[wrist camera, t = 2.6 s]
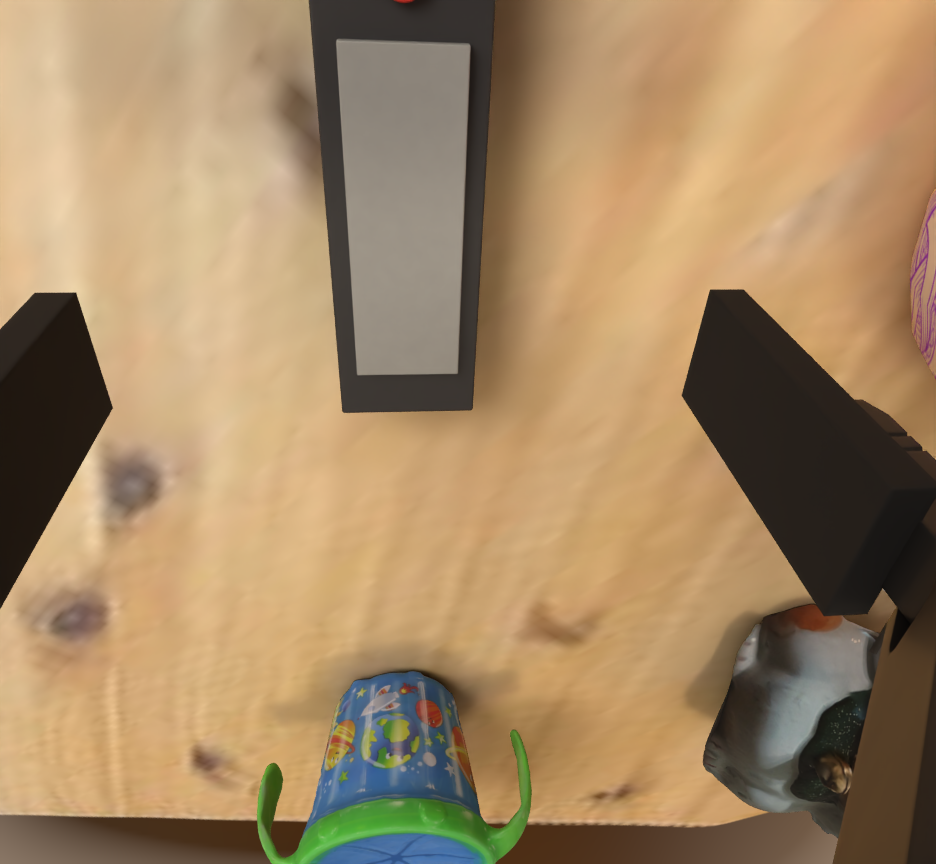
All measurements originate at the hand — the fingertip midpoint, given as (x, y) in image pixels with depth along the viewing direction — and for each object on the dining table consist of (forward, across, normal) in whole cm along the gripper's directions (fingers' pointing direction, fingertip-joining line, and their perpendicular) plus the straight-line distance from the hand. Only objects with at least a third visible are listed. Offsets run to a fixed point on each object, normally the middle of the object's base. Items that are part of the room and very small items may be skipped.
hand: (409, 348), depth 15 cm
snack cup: (+13, -1, -33) cm, 35 cm away
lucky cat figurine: (+13, +26, -31) cm, 42 cm away
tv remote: (+12, 0, 0) cm, 12 cm away
